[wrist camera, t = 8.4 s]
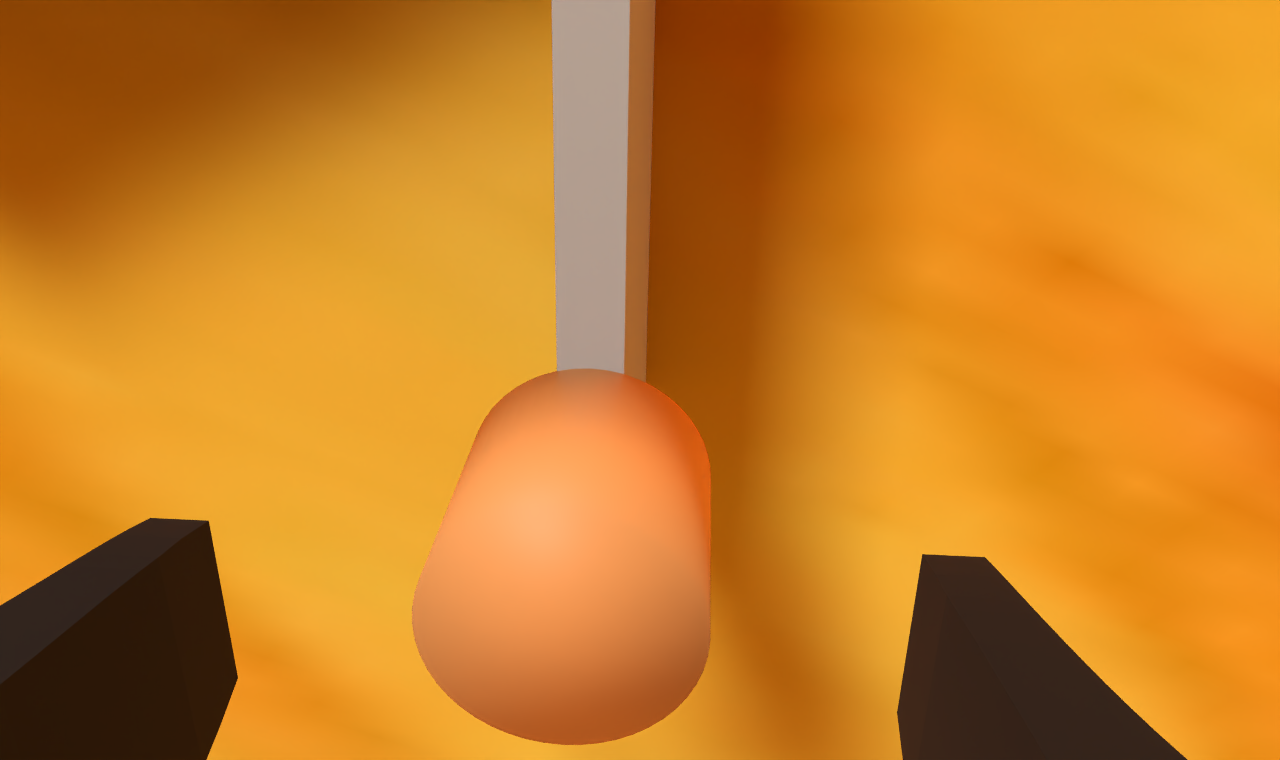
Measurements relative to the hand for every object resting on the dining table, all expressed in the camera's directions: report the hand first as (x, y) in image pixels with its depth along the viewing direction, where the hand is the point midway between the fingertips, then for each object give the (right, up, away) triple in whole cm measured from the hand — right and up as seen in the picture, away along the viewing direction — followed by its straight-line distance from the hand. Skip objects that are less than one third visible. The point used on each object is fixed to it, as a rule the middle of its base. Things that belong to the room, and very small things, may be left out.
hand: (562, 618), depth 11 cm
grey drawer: (+1, +9, +5) cm, 10 cm away
